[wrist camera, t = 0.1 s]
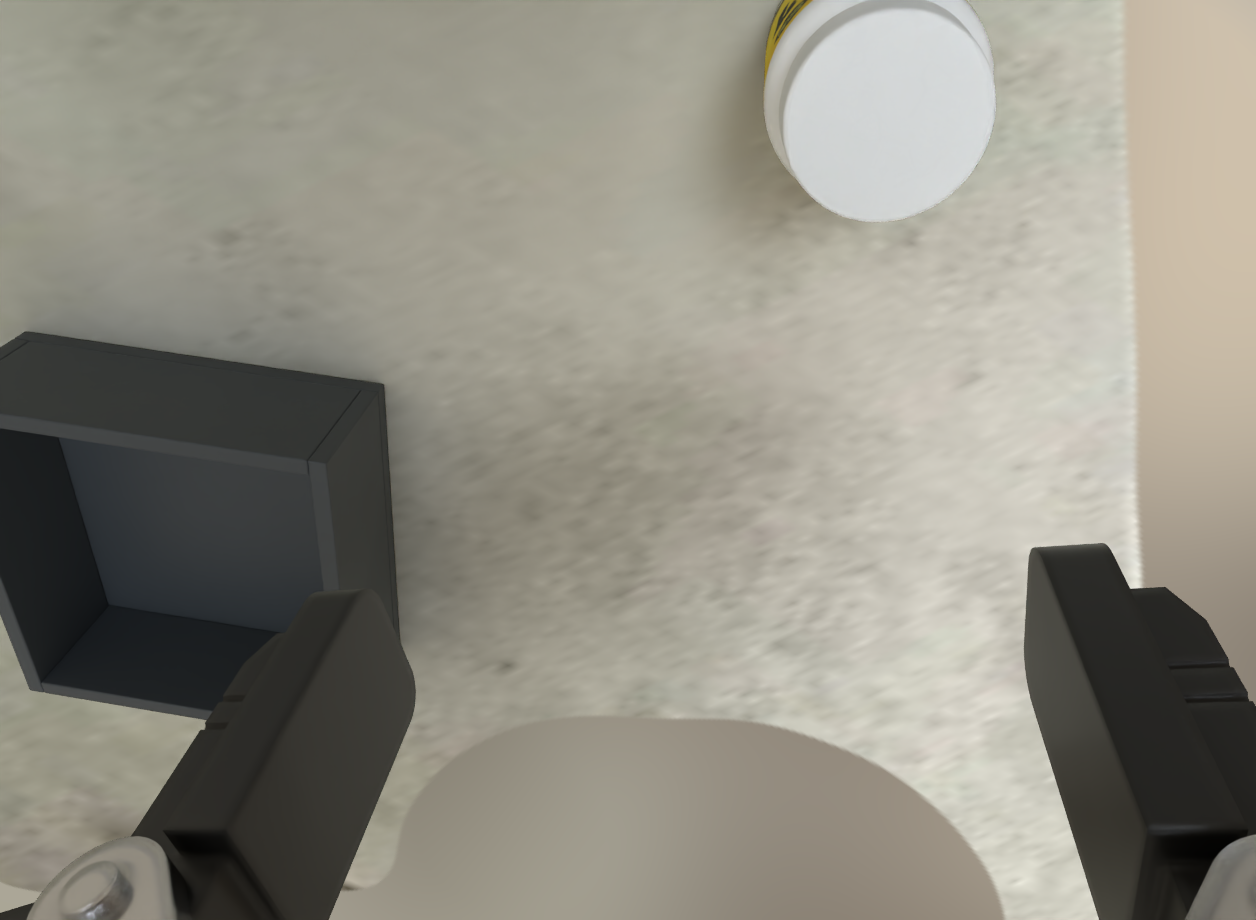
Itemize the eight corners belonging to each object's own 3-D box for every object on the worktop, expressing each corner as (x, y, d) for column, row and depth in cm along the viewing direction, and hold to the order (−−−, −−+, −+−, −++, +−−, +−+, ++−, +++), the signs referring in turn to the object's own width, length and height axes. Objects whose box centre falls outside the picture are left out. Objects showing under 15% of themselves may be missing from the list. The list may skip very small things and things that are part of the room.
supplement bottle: (919, -91, 22) (988, -69, 15) (969, 94, 25) (1050, 186, 18) (737, -1, 24) (725, 56, 17) (798, 166, 26) (810, 277, 19)
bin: (106, 603, 40) (29, 690, 36) (24, 330, 33) (-86, 400, 28) (400, 651, 39) (356, 746, 35) (384, 383, 32) (326, 463, 28)
